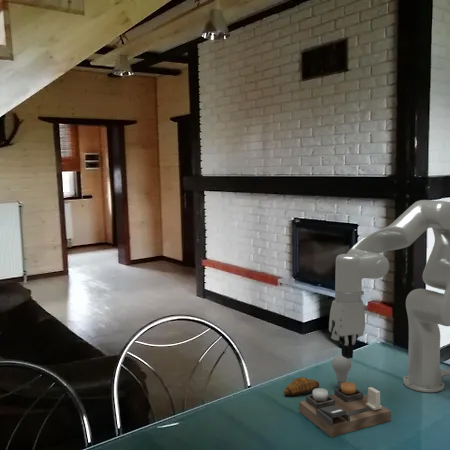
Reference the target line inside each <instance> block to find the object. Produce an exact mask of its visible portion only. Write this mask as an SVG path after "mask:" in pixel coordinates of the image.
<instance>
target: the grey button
mask: <svg viewBox="0 0 450 450" xmlns="http://www.w3.org/2000/svg"><path fill="white" fill-rule="evenodd" d="M312 394H313V399H315V400H318V401H324V400H327V399H328V395H329V391H328V390H327V389H326V388H323V387H322V388H321V387H318V388H316V389H314V390H313V391H312Z"/></svg>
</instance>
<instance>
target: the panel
mask: <svg viewBox="0 0 450 450" xmlns="http://www.w3.org/2000/svg"><path fill="white" fill-rule="evenodd" d="M333 391H334V392H333V393H331V394H328V399H327V400H324V401H318V400H315V399H313V393H312V394H309V395H306V396H305V399H304V400H301V401H299V404H298V406H299V407H298V408H299V409H298V411H299V413H301V414H302V415H303V416H304V417H306V418H307V419H308V420H309V421H310V422H312V423H313V424H314V425H315V426H317V427H318V428H319V429H320V430H322V431H323V432H324V433H325V434H327V435H328V436H329V437H330V438H334V437H337V436H341V435H346V434H348V433H351V432H356V431H359V430H362V429H363V430H364V429H366V428H370V427H373V426H377V425H381V424H383V423H384V424H385V423H388V422H391V421H392V420H391V419H392V418H391V417H392V416H391V414H392V413H391V412H392V411H391V409H389V408H387V407H385V406H384V405H382V404H380V405H381V406H382V409H378V410H373V409H371V408H370V407H368V406H366V403H368V395H366V394H364V393H363V392H362V391H360V390H358V389H357V388H356V393H354V394H346V393H343V392H342V391H341V388H340V387H338V388H335V389H334V390H333ZM332 405H333V406H335V407H338V408H340V409H343V410H345V411H346V415H342V416H338V417H335V418H331V417H329V416H327V415H326V414H325V413H323V412H322V411H321V410H320V408H324V407H328V406H332Z"/></svg>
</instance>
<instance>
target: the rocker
mask: <svg viewBox="0 0 450 450" xmlns="http://www.w3.org/2000/svg"><path fill="white" fill-rule="evenodd" d="M320 410H321V411H322V412H323V413H325V414H326V415H327V416H329V417H331V418H335V417H338V416H342V415H346V411H345V410H343V409H340V408H338V407H335V406H333V405H332V406H328V407H324V408H320Z"/></svg>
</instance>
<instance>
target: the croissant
mask: <svg viewBox="0 0 450 450" xmlns="http://www.w3.org/2000/svg"><path fill="white" fill-rule="evenodd" d="M316 388H320V382H319V381H318V380H315V379H311V378H306V377H304V376H300V377H297V378H295V379H293V380H292V382H290V383H289V384H288V385H286V387H285V388H284V390H283V394H284V395H285V396H287V397H292V396H299V395H305V394H308V393H310V392H313V390H314V389H316Z"/></svg>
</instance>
